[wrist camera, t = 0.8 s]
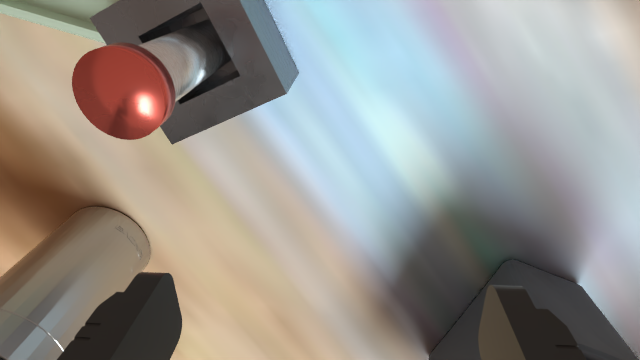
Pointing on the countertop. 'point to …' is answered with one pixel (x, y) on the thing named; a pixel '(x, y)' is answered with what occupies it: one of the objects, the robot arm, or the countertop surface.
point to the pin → (145, 79)
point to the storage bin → (546, 293)
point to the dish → (59, 14)
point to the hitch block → (230, 80)
